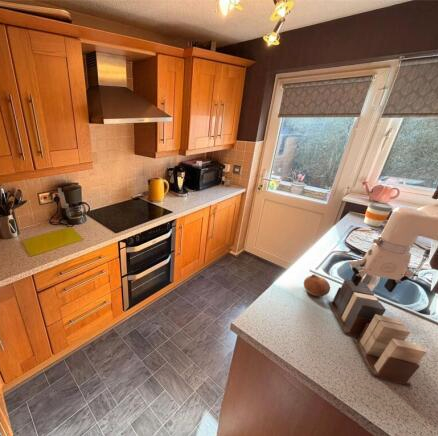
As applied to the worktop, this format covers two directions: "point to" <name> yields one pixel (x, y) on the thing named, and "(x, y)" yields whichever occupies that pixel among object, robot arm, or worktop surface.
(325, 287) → the onion
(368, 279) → the beer glass
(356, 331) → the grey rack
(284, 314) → the worktop surface
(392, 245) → the robot arm
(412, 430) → the worktop surface
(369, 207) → the reusable coffee cup
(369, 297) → the cream book
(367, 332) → the cream rack
